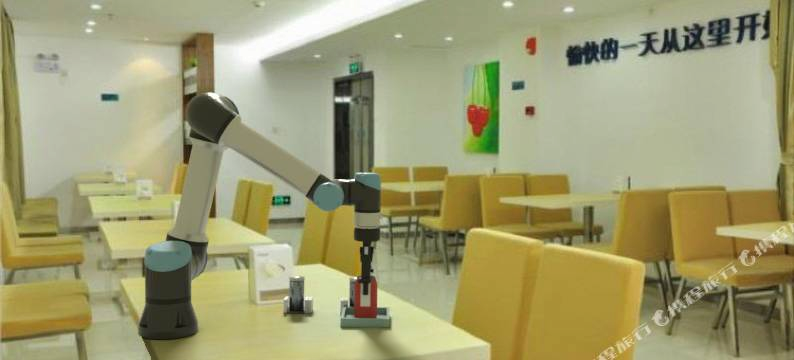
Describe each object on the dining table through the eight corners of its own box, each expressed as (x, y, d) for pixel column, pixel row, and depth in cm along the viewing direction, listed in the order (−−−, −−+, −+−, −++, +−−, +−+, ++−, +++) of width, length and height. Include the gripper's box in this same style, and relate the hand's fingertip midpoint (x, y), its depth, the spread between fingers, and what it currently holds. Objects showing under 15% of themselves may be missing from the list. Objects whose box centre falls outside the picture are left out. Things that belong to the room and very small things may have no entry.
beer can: (374, 322, 198) (374, 280, 197) (351, 320, 199) (352, 278, 199) (379, 316, 205) (379, 275, 204) (357, 314, 206) (357, 274, 205)
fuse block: (368, 314, 209) (368, 279, 208) (283, 313, 209) (283, 278, 208) (368, 310, 214) (369, 276, 214) (285, 309, 214) (286, 275, 213)
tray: (389, 327, 195) (389, 319, 195) (340, 326, 195) (340, 318, 195) (389, 315, 209) (389, 307, 208) (343, 314, 208) (343, 306, 208)
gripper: (380, 232, 188) (378, 311, 189) (380, 221, 213) (379, 291, 214) (351, 232, 188) (350, 310, 189) (355, 221, 212) (354, 290, 214)
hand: (365, 300), depth 201 cm, fingers open, 13 cm apart
